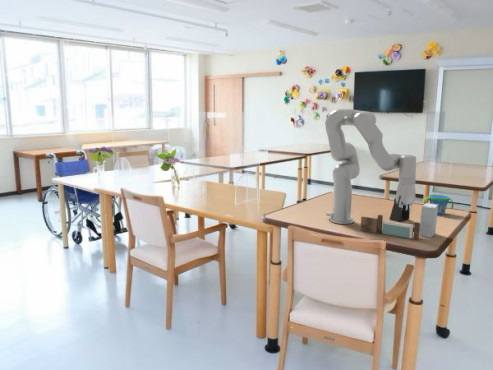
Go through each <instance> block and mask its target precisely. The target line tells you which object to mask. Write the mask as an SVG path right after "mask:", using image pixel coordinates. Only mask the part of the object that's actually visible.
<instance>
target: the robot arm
mask: <svg viewBox="0 0 493 370" xmlns="http://www.w3.org/2000/svg"><path fill="white" fill-rule="evenodd" d="M376 123H377V117H376V115H375V113H373V112H371V111H365V110H364V111H363V110H358V109H351V108H349V109H348V108H339V109H338V108H337V109H335V110H332V111H331V112H330V113H329V114H328V115H327V117H326V119H325V123H324V124H325V125H324V126H325V132H326V135H327V139H328V145H329V150H330V154H331V157H332V159H333V161H336V162H341V163H339V164H337V165H336V166H335V167H334V169H332V170H333V171H332V181H333V199H332V200H333V202H332V204H333V205H332V206H333V207H332V211H331V212H330V211H325V214H326V216H327V217H329V221H330V222H331V223H333V224H338V225H349V224H352V223H354V218H352V216H351V215H352V200H353V199H352V198H353V195H352V194H353V188H352V187H353V184H352V180H353V179H356V178H357V177H358V176H359V174H360V172H361V171H360V164H359V159H358V154H357V150H356V147H355V146H354V144H352V143H350V142H347V141H346V138H345V133H344V130H343V129H342V126H352V127H355V129H357V131H358V132H359V133H360V135H361V137H363V140H365V142H366V144H367V145H368V150H369V154H370V155H371V157H372V159H373V160H374V161H375V163H376V164H377V166H378V167H379V168H380V169H381V170H383V171H385V172H386V171H387V172H390V171H393V170H397V169H398V184H397V188H396V195H395V198H396V204H399V207H400V208H401V210H402V218H406V219H408V218H409V219H410V213H411V207H412V206H413V205H414V203H415V202H416V176H417V175H416V173H417V157H416V156H415V155H412V154H411V155H410V154H403V155H402V154H398V153H391V154H390V153H389V152H388V151H387V150H386V148H385V146H384V144H383V136H384V135H383V132H382V131H381V130H380V129H379V126H377V125H376Z"/></svg>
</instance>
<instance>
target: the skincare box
mask: <svg viewBox="0 0 493 370" xmlns="http://www.w3.org/2000/svg"><path fill="white" fill-rule="evenodd" d="M437 212H438V205H436V204H430V202H425V204H424V203H423V205H422V206H421V215H420V221H419V223H420V231H419V237H420V236H421V237H425V238H430V239H431V238H433V236H435V234H436V229H437V221H438V220H437V218H438V215H437Z"/></svg>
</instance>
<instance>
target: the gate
mask: <svg viewBox="0 0 493 370" xmlns="http://www.w3.org/2000/svg"><path fill="white" fill-rule="evenodd" d="M413 228H414V225H413V224H408V223H401V222H395V221H394V222H393V221H386V220H383V221H382V234H383V235H390V236H397V237H401V238H407V239H413V238H414V232H413Z"/></svg>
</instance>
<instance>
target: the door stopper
mask: <svg viewBox="0 0 493 370" xmlns="http://www.w3.org/2000/svg"><path fill="white" fill-rule="evenodd" d="M389 220H390V221H392V222H393V221H394V222H396V223H401V222H404V221H405V222H406V221H410V217H409V218H408V219H406V218H402V210H401V208H400V207H399V204H396V197H394V199H393V206H392V208H391V212H390V217H389Z"/></svg>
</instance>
